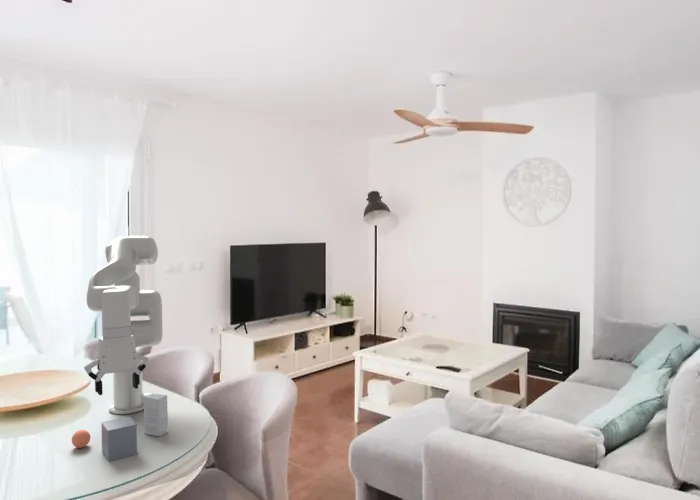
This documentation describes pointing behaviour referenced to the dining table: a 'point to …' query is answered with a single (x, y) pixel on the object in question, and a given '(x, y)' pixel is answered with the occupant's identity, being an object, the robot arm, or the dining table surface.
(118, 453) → the grey matte cube
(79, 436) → the ball
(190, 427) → the dining table surface
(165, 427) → the skincare box
